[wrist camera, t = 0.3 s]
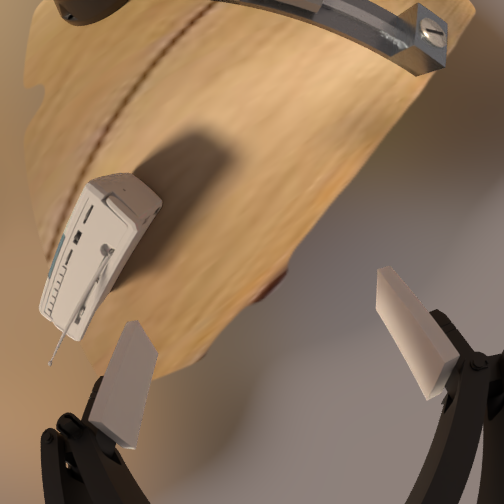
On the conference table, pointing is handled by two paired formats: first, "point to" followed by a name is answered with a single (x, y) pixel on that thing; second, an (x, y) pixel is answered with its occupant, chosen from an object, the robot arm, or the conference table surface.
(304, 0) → the carriage
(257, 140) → the conference table surface
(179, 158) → the conference table surface
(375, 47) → the rail
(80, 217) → the stereo radio cassette player
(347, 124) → the conference table surface
